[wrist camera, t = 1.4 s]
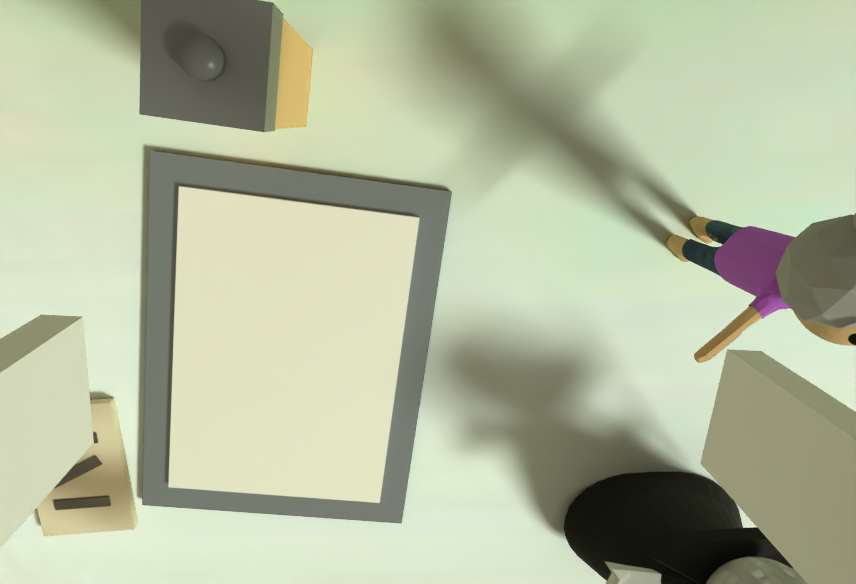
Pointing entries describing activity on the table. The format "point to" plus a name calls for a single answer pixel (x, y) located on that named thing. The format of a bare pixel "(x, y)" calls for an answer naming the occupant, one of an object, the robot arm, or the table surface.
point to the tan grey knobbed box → (223, 64)
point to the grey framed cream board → (285, 337)
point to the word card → (93, 484)
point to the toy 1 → (781, 274)
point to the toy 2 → (670, 533)
